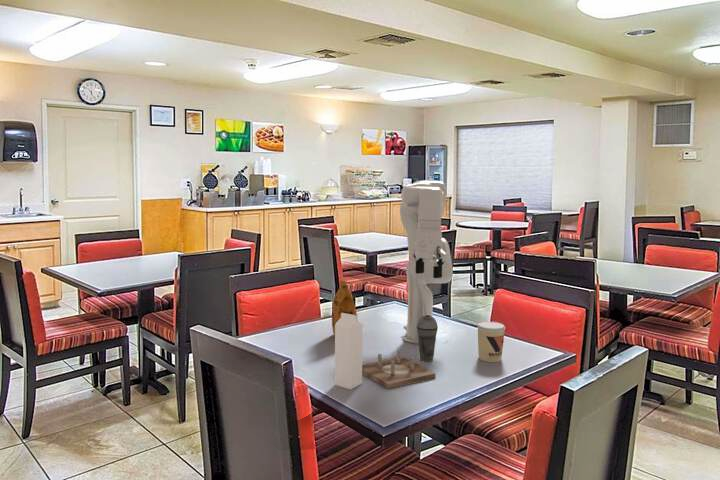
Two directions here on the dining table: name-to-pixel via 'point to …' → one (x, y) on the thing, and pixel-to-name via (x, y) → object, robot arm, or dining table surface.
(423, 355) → the beverage cup
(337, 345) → the milk
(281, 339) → the dining table surface
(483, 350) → the coffee cup
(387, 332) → the dining table surface
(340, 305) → the coffee package
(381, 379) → the cup stand
